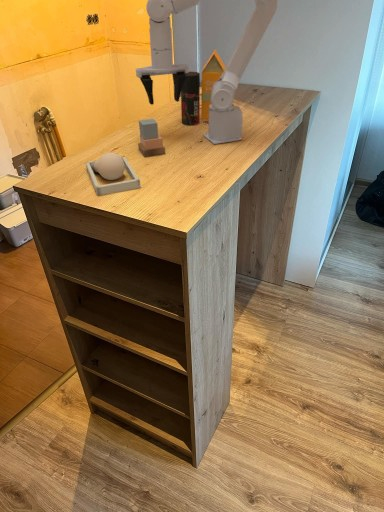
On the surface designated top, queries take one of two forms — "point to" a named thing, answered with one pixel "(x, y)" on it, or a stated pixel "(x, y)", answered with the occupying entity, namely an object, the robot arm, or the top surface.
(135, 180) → the grey tray rim
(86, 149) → the top surface
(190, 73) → the deodorant
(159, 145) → the terracotta slab
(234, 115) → the robot arm
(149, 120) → the slate cube
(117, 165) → the light bulb
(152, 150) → the walnut slab
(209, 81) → the orange juice
